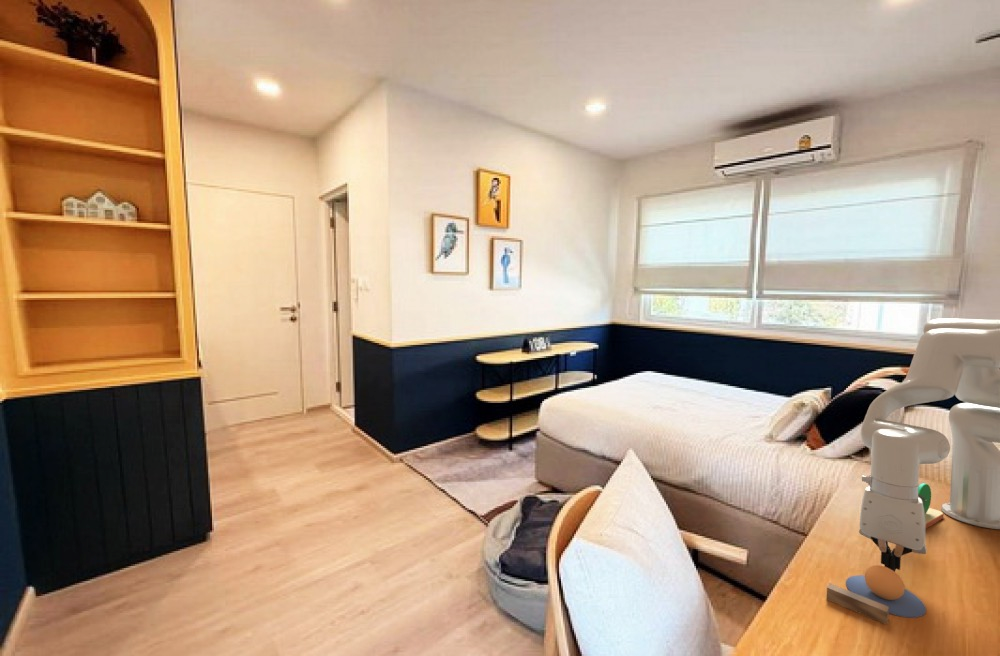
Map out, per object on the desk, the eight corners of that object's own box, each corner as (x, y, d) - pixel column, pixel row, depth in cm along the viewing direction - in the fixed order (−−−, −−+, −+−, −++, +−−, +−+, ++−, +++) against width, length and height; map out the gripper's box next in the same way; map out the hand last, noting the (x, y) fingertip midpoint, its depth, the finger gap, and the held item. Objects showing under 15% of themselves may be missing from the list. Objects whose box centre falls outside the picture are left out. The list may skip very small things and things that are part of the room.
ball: (889, 579, 81) (886, 608, 81) (914, 577, 82) (911, 606, 82) (858, 559, 87) (855, 587, 87) (882, 558, 88) (878, 585, 88)
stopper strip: (888, 619, 79) (888, 606, 79) (886, 624, 78) (887, 612, 77) (829, 594, 86) (829, 583, 86) (826, 599, 84) (826, 587, 84)
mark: (900, 581, 89) (900, 580, 89) (942, 622, 78) (942, 621, 78) (834, 572, 93) (834, 571, 93) (865, 611, 81) (865, 610, 81)
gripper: (845, 482, 93) (842, 561, 94) (942, 506, 82) (938, 595, 83) (852, 472, 98) (850, 547, 99) (945, 494, 87) (941, 578, 88)
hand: (890, 569), depth 91 cm, fingers closed
